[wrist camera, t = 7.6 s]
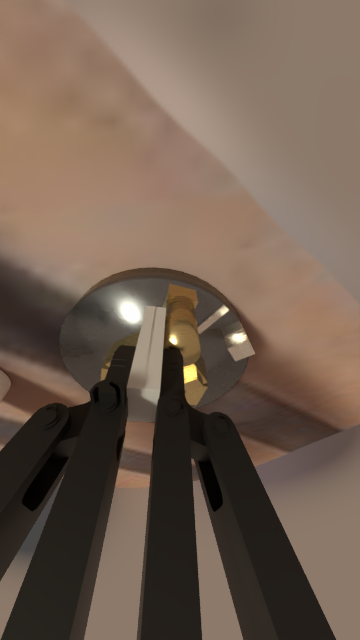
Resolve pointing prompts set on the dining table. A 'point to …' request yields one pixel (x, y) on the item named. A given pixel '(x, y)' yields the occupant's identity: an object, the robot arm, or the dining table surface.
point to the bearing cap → (126, 319)
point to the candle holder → (4, 385)
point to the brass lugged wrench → (177, 340)
